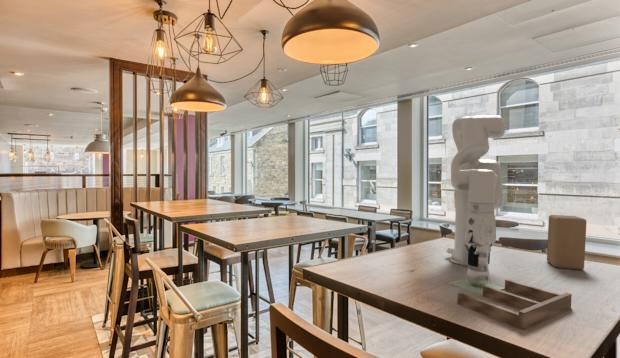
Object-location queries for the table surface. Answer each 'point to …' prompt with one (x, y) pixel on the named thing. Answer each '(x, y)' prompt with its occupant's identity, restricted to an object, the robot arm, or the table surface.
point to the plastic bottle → (480, 266)
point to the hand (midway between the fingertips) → (478, 264)
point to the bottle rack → (518, 304)
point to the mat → (473, 286)
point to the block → (566, 241)
